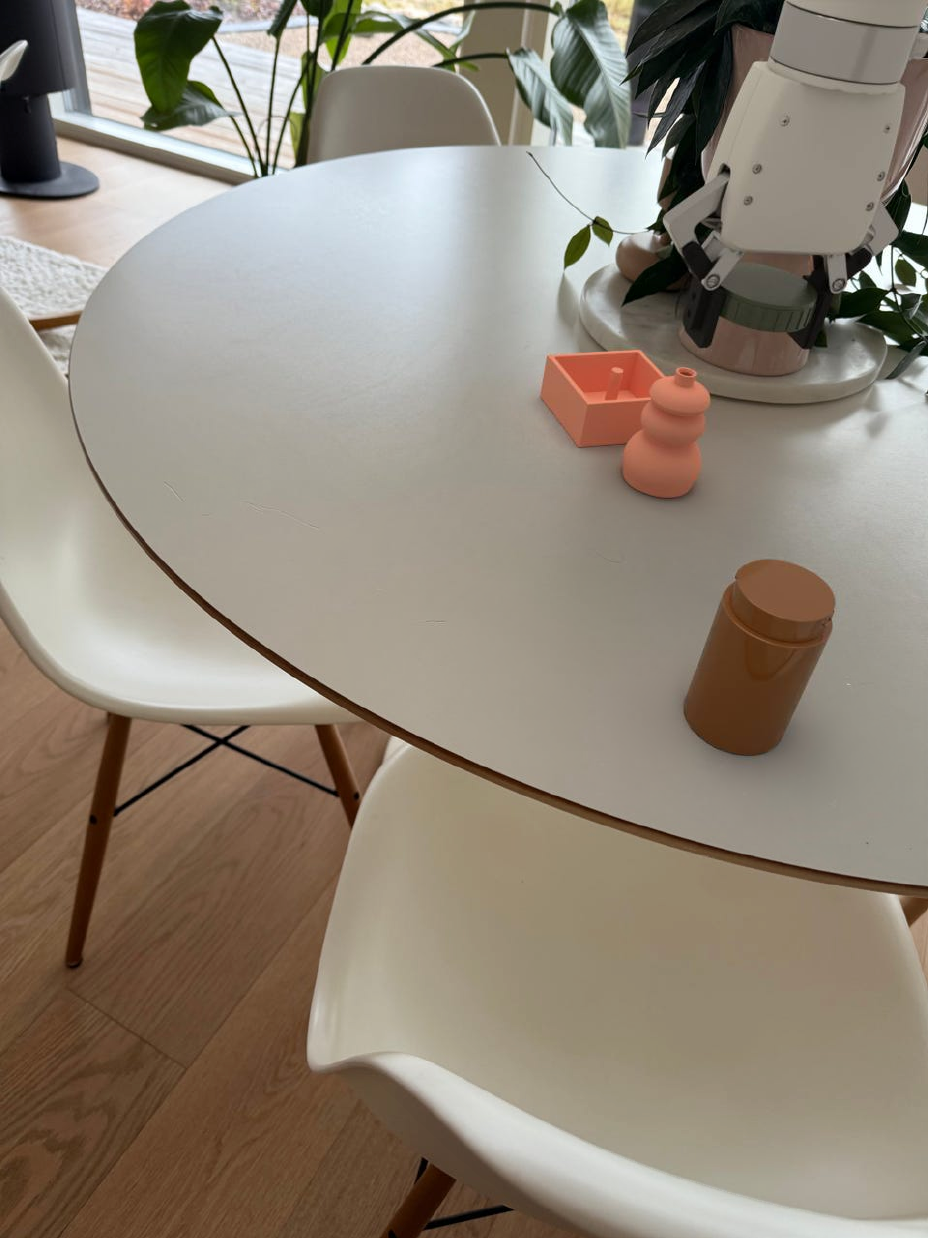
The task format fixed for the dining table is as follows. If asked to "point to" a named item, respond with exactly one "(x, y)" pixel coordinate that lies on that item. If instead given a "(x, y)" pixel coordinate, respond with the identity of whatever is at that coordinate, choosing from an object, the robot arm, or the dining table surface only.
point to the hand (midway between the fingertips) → (747, 337)
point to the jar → (759, 656)
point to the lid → (767, 298)
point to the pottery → (631, 414)
